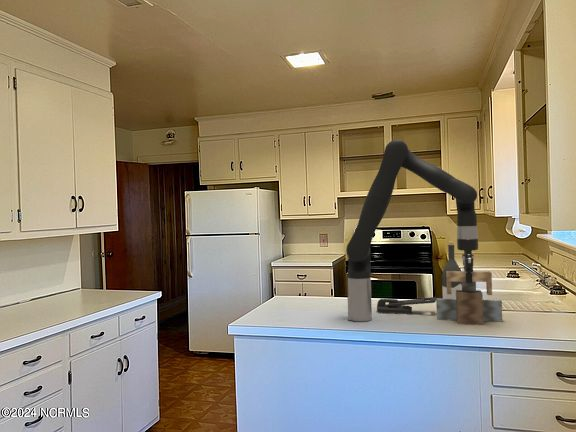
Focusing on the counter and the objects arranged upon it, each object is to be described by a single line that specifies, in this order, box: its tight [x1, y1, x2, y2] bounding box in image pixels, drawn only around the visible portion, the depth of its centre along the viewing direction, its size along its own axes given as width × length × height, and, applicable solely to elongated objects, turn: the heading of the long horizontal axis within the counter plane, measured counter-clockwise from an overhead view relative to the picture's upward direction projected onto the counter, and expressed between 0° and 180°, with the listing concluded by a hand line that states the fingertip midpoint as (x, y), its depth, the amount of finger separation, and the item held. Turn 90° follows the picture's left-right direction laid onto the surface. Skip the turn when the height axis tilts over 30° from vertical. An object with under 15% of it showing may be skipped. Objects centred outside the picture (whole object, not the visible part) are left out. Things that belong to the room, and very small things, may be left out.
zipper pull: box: [376, 296, 437, 315], centre depth 192 cm, size 9×7×25 cm
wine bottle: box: [441, 240, 462, 299], centre depth 192 cm, size 8×8×30 cm
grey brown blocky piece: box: [435, 289, 503, 326], centre depth 174 cm, size 24×8×12 cm, turn 73°
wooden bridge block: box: [446, 270, 493, 296], centre depth 172 cm, size 16×4×8 cm, turn 73°
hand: (468, 281), depth 172 cm, fingers closed on wooden bridge block, 3 cm apart
